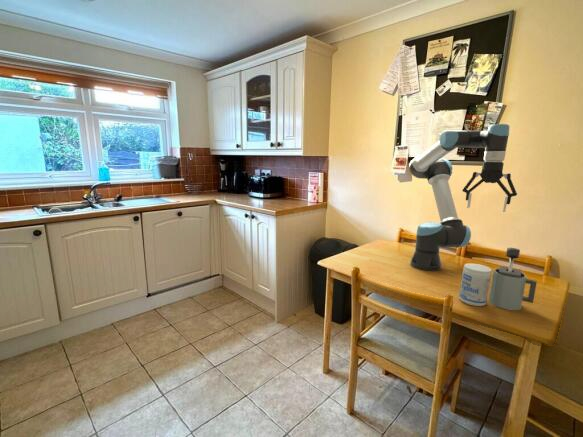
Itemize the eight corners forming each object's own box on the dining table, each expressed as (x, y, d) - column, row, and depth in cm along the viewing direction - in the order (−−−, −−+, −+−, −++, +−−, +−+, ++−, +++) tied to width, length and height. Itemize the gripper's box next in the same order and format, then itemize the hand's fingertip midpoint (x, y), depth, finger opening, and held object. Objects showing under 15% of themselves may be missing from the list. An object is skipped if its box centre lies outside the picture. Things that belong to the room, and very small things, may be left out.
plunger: (493, 299, 117) (501, 249, 113) (494, 292, 123) (502, 245, 119) (517, 304, 113) (526, 253, 109) (517, 297, 119) (525, 248, 115)
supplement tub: (456, 301, 120) (461, 267, 117) (461, 294, 127) (465, 261, 124) (484, 309, 113) (490, 273, 111) (488, 301, 121) (493, 266, 118)
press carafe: (487, 304, 117) (493, 271, 115) (490, 295, 126) (494, 264, 123) (531, 315, 109) (538, 280, 107) (531, 305, 117) (537, 271, 115)
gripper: (459, 160, 133) (453, 207, 138) (530, 162, 118) (520, 214, 123) (462, 160, 139) (456, 205, 144) (529, 162, 124) (520, 211, 129)
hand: (485, 209), depth 133 cm, fingers open, 13 cm apart
